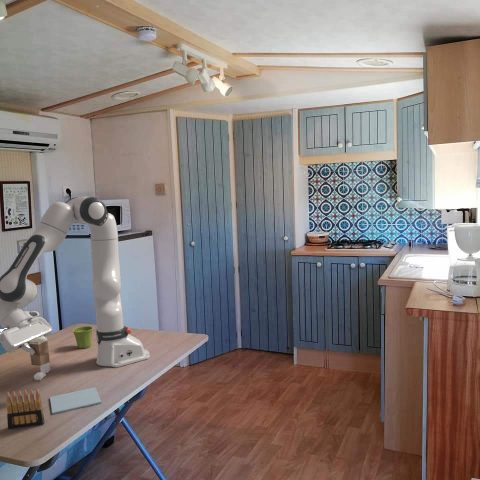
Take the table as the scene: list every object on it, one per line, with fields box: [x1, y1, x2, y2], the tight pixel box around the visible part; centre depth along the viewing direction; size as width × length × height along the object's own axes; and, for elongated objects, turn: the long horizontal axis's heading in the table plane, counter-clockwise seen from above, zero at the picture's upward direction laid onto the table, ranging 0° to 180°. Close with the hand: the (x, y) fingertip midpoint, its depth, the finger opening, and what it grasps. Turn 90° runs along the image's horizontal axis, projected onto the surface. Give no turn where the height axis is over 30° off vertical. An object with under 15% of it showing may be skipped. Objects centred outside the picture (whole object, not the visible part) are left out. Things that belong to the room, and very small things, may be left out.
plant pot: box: [72, 325, 94, 349], centre depth 233 cm, size 9×9×9 cm
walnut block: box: [28, 337, 51, 367], centre depth 179 cm, size 4×4×9 cm
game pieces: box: [33, 362, 51, 382], centre depth 200 cm, size 12×3×3 cm, turn 6°
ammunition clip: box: [5, 388, 45, 430], centre depth 157 cm, size 11×2×12 cm, turn 100°
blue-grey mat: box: [49, 386, 102, 415], centre depth 174 cm, size 16×14×1 cm
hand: (40, 350), depth 179 cm, fingers closed on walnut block, 4 cm apart
